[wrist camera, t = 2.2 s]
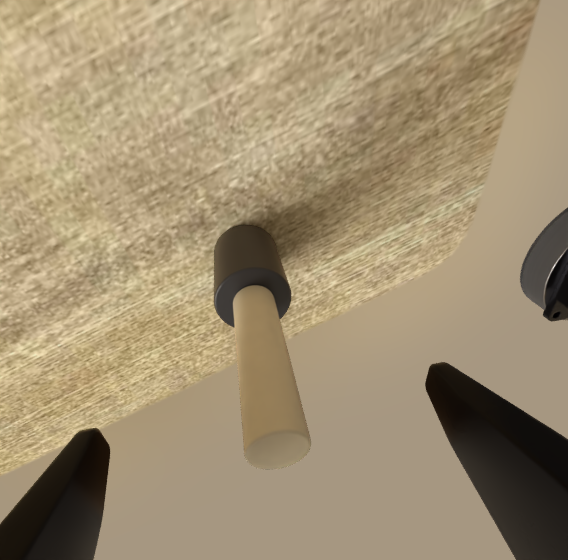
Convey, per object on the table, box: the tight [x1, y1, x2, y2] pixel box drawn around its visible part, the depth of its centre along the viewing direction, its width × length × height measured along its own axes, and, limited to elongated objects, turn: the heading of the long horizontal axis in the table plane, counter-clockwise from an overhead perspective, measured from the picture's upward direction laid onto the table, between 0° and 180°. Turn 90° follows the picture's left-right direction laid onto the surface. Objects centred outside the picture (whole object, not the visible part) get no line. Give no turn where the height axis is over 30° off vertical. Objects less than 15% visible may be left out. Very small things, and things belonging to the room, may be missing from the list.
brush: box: [214, 225, 311, 470], centre depth 12 cm, size 3×3×10 cm
